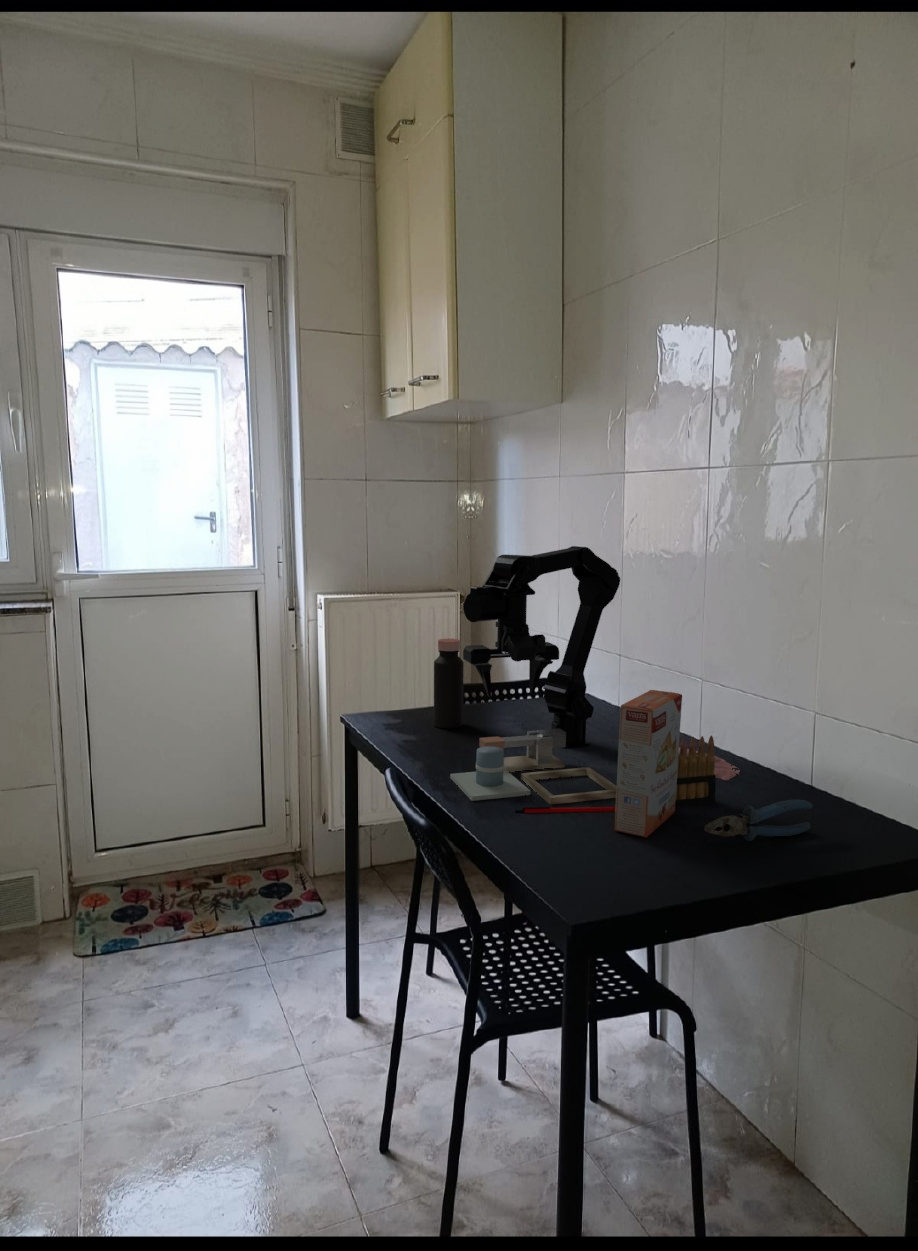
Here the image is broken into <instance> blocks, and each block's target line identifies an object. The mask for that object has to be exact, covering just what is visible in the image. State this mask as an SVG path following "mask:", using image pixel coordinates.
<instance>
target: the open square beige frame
mask: <svg viewBox="0 0 918 1251" xmlns="http://www.w3.org/2000/svg"><path fill="white" fill-rule="evenodd" d="M571 776H572V777H580V776H587V777H588V778H590V779H591V780H592V781H594V782H595V783H596V784H598V785H599V786H600V787H602V788H604V790H595V791H594V790H593V791H585V792H575V793H564V794H556V795H554V794H553V793H552V792H550V791H549V790H547V789H546V788H545V787H543V786H542V784H540V783H539V782H537V780H538V781H539V779H540V780H549V778H551V779H560V778H559V777H561V778H569V777H571ZM520 780H521V781H522V780H523V781H524V782H525V783H526V784H525V785H527V786H528V785H529V786H530V787H531V788H532V789H533V790H532V789H531V788H530V787H529V786H528V787H529V788H530V789H531V790H532V791H533V792H535V793H536V792H537V793H536V794H537V795H538V796H539V797H541V798H542V799H543V800H544V801H545V802H546V803H548V804H549V805H558V804H571V803H577V802H587V801H597V800H607V799H608V800H609V799H616V790H617V784H614V782H611V781H610V780H609V779H607V778H606V777H604V776H603V775H602V774H599V773H598V772H597V771H595V770H594V769H593V768H591V767H589V766H588V767H587V766H585V767H577V768H576V767H575V768H574V767H573V768H565V769H563V768H562V769H554V770H552V769H551V770H540V771H533V772H532V771H530V772H523V773H521V772H520ZM523 781H522V782H523ZM524 782H523V783H524Z"/></svg>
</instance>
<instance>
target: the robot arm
mask: <svg viewBox="0 0 918 1251" xmlns="http://www.w3.org/2000/svg"><path fill="white" fill-rule="evenodd" d="M567 569H568V570H569V569H571V572H572V575H573V576H574V577H575V579H577V580H578V586H577V591H578V592H577V593H578V597H579V601H580V602H579V603H580V604H579V608H578V610H577V613H576V617H575V620H574V623H573V626H572V629H571V633H570V635H569V636H570V637H569V640H568V642H567V645H566V648H565V652H564V656H563V659H562V662H561V664H560V667H558V669H557V670H555V671H553V670H549V671H548V673H547V677H546V681H545V684H544V685H543V687H542V689H543V690H544V691H543V699H544V700H545V703H546V707H547V710H548V713H550V714H553V721H551V729H562V730H563V731H565V732H566V747H565V748H570V747H581V746H589V745H590V742H588V741H587V740H586V739H587V738H586V736H587V720H588V719H591V718H592V716H593V713H594V710H595V708H594V706H593V705H592V704H591V702H590V701H589V700H588V699H587V698H586V693H587V683H586V678H585V674H584V673H585V669H586V667H587V664H588V663H587V662H588V659H589V656H590V653H591V649H592V647H593V643H594V640H595V636H596V633H597V629H598V626H599V623H600V620H601V617H602V613H603V610H605V608H606V607H607V606H608V605H609V604H610V603H611V602H612V601H613V599H615V596H616V595H617V592H618V589H619V588H620V585H621V577H620V576H619V572H618V571H617V569H616V568H615V567H612V566H611V564H609V563H608V562H607V561H605V560H603V559H602V558H601V557H600V556H598V555H597V554H595V552H593V550H592V549H590V548H589V547H587V546H576V545H573V546H570V547H567V548H562V549H557V550H552V551H548V552H543V553H538V554H533V555H525V554H524V555H522V554H501V555H498V556H497V557H496V560H495V561H494V565H493V567H491V570H490V572H489V573H488V576H487V577H486V579H485V581H484V582H483V584H482V586H470V590H469V593H468V594H467V595H466V596H465V599H464V602H463V603H462V608H463V609H462V610H463V614H464V616H465V617H466V619H467V620H468V621H469V622H471V623H479V622H489V621H495V628H497V633H496V634H497V637H496V640H497V641H495V646H494V647H496V648H489V647H487V646H485V645H483V644H474V645H466V646H465V647H464V648H463V651H462V660H464V661H466V662H468V663H469V664H470V665H472V666H473V667H475V669H476V670H477V672H478V674H479V677H480V680H481V682H482V685H483V687H484V690H485V693H486V695H487V697H491V696H492V678H491V677H492V675H491V670H492V667H493V664H491V663H490V661H491V659H502V658H510V659H511V661H514V662H521V661H529V664H528V666H529V668H528V669H529V670H528V672H529V674H528V676H529V683H528V685H529V686H528V687H529V688H528V689H529V693H530V694H531V695H533V694H534V693H535V690H536V688H537V686H538V683H539V680H540V678H541V676H542V674H543V671H544V670H545V669H546V667H547V666H549V665H552V664H553V662H554V661H559V660H560V650H559V647H558V646H557V645H556V644H554V643H551V642H548V641H546V636H545V635H544V634H534V635H531V634H530V632H529V631H530V627H529V624H528V623H527V606H528V605H527V603H528V602H527V600H528V598H527V597H528V596H533V595H536V591H535V590H534V589H533V588H532V587H531V586H530V585H529V584H530V583H532V582H534V581H537V579H538V578H539V577H541V576H542V575H544V574H550V573H554V572H558V571H564V570H567Z"/></svg>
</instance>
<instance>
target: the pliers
mask: <svg viewBox="0 0 918 1251" xmlns="http://www.w3.org/2000/svg"><path fill="white" fill-rule="evenodd" d="M813 806H814V805H813V804H812V802H809V801H808V800H805V799H787V800H781V801H778V802H774V803H772V804H768V805H766V806H762V807H760V808H758V809H757V808H756V809H755V808H754V807H753V806H751V805H746V806H745V807H744V809H743V811H742V813H741V814H738V815H733V814H732V815H725V816H720V817H719V818H716V819H714V820H712V821H710V822H708V823H707V824H705V825H704V826H703V827H704V829H703V830H704V831H705V832H706V833H708V834H712V835H716V836H719V837H722V838H723V837H724V838H727V837H736V836H737V835H741V836H743V839H744V840H745V841H746V842H747V841H748V842H752V841H754V839H755V838H756V836H764V837H774V836H777V837H778V836H787V837H791V836H792V835H793V836H797V835H799V834H802V833H804V832H807V831H809V830H810V829H811V822H809V821H808V822H807V821H805V822H801V823H796V824H791V825H772V824H771V825H770V824H769V825H768V824H762V823H759V822H761V821H765V820H767V819H770V818H773V817H775V816H777V815H780V814H783V813H786V812H790V811H797V810H799V811H802V810H803V811H808V810H812V809H813ZM778 838H779V837H778Z"/></svg>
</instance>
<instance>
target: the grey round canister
mask: <svg viewBox="0 0 918 1251" xmlns="http://www.w3.org/2000/svg"><path fill="white" fill-rule="evenodd" d="M504 757H505V749H502V748H498V747H490V746H488V747H480V746H479V747H478V748H477V749H476V758H475V759H476V760H475V769H476V770H475V772H476V783H477V784H479V785H482V786H490V787H492V786H499V785H502V784H503V771H504Z"/></svg>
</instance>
